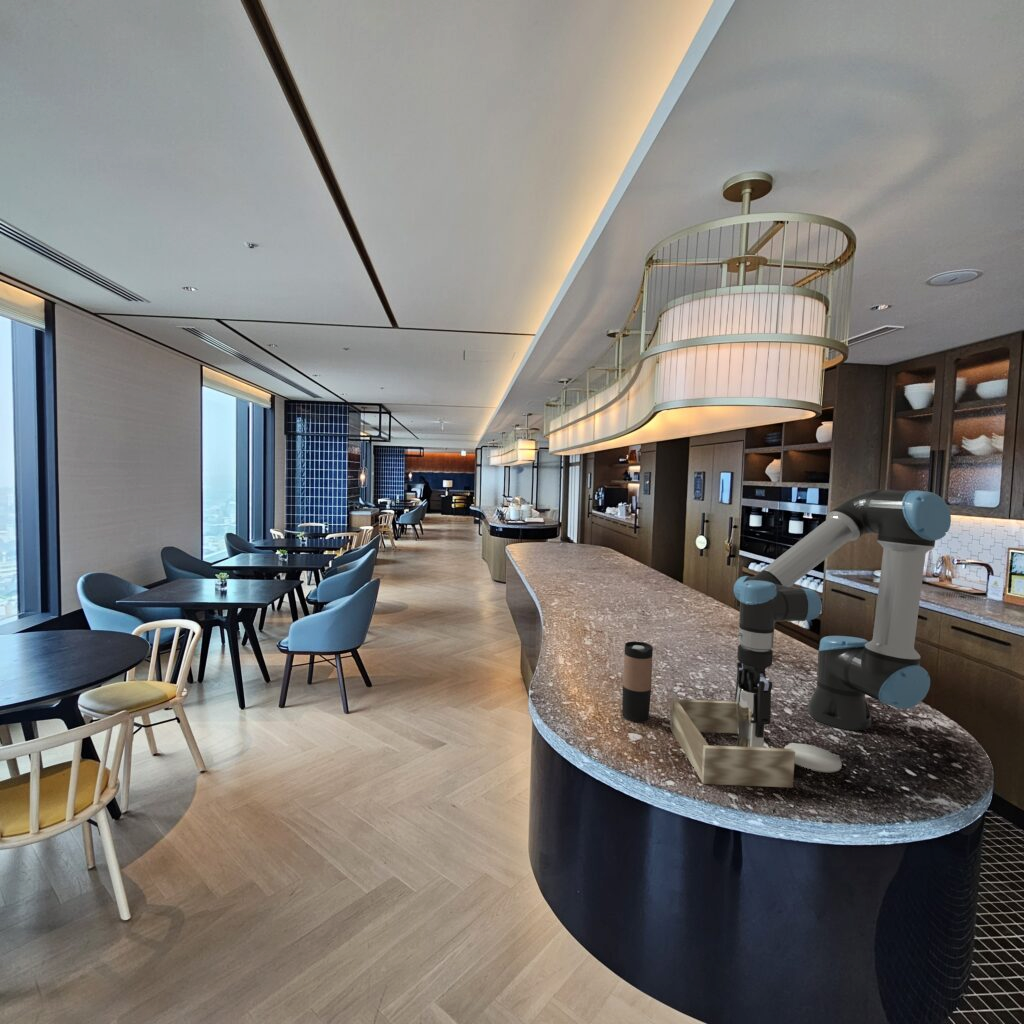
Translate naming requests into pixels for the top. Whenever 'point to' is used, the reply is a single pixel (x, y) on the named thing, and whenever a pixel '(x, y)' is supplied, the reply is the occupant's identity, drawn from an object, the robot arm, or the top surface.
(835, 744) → the top surface
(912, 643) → the robot arm
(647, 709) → the travel mug
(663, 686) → the top surface
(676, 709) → the open side box
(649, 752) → the top surface
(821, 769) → the coaster
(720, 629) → the top surface
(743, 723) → the beer glass
